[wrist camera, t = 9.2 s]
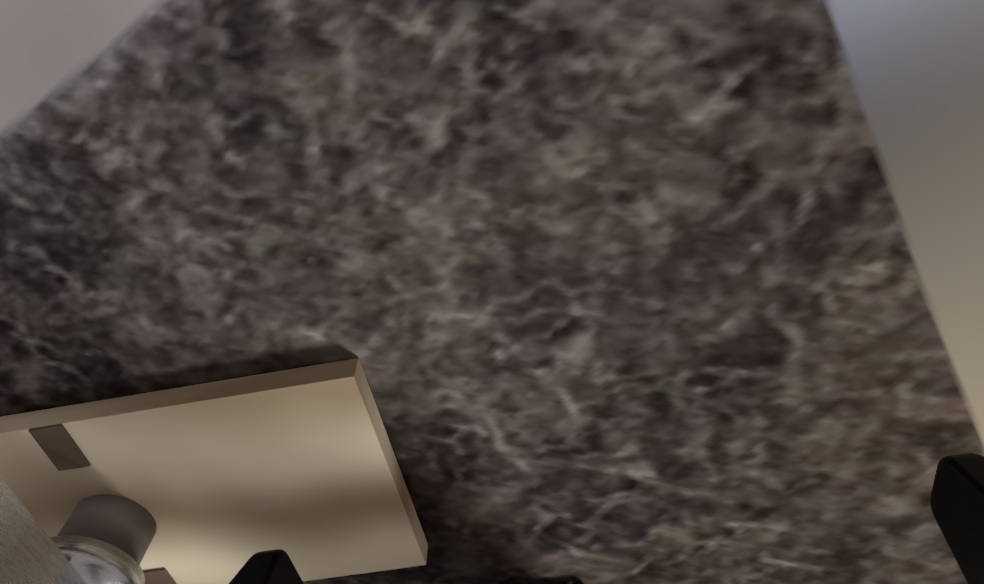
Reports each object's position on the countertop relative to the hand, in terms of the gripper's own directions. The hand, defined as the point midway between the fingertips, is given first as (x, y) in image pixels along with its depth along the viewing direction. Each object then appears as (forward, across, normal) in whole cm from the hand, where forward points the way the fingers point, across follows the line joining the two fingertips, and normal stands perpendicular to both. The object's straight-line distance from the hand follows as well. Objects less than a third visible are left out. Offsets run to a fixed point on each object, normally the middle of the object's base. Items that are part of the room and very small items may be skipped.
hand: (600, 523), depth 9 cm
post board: (+12, +18, +10) cm, 24 cm away
